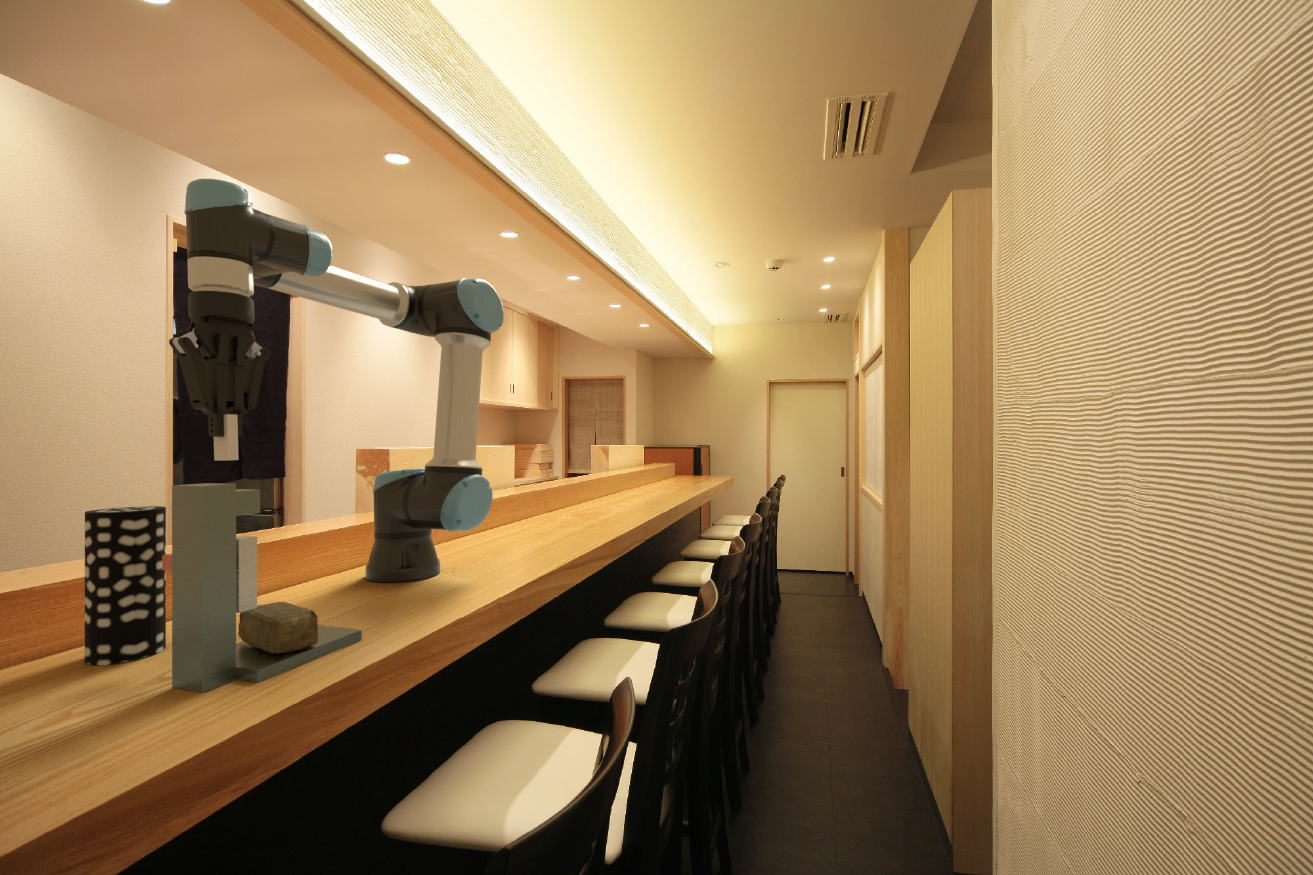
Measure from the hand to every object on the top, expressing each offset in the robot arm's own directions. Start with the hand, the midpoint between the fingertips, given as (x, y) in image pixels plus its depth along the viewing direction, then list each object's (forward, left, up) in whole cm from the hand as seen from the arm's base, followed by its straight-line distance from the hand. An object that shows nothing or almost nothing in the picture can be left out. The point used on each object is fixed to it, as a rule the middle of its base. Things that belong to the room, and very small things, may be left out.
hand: (226, 460), depth 83 cm
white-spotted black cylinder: (+6, -11, -27) cm, 30 cm away
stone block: (0, +10, -25) cm, 27 cm away
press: (+2, +10, -27) cm, 29 cm away
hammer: (+5, +5, -19) cm, 20 cm away
